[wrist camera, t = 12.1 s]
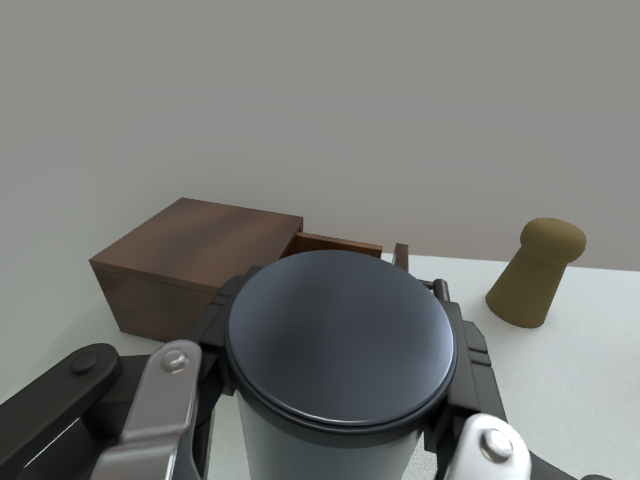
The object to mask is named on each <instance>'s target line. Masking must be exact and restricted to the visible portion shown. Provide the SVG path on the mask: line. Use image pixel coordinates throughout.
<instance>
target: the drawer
mask: <svg viewBox="0 0 640 480" xmlns="http://www.w3.org/2000/svg"><path fill="white" fill-rule="evenodd" d="M319 250H340V251H350V252H356V253H361V254H365V255H369V256H372V257H375V258H379V259H381V253H382V246H379V245H373V244H367V243H362V242H356V241H350V240H344V239H338V238H332V237H326V236H320V235H315V234H309V233H303V232H298V233H297V235H296V236H295V238H294V240H293V242H292V243H291V245H290V247H289V248H288V250H287V252H286V254H285V255H284V257H283V258H285V257H288V256H291V255H295V254H299V253H303V252H310V251H319ZM392 264H393V265H395V266H397V267H399V268H401V269H403V270H404V271H406V272H407V273H408V245H405V244H399V243H396V247H395V251H394V255H393V260H392ZM417 280H419V279H417ZM419 281H420V282H421V283H422V284H423V285H424V286H426V287H427V288H428V289H429V290H432V289H433V294H434V296H435V297H436V298H437V299H440V300H445V301H450V297H449V291H448V285H447V282H446V281H445V280H443V279H436V280H434V281H433V282H430V281H424V280H419Z"/></svg>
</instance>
